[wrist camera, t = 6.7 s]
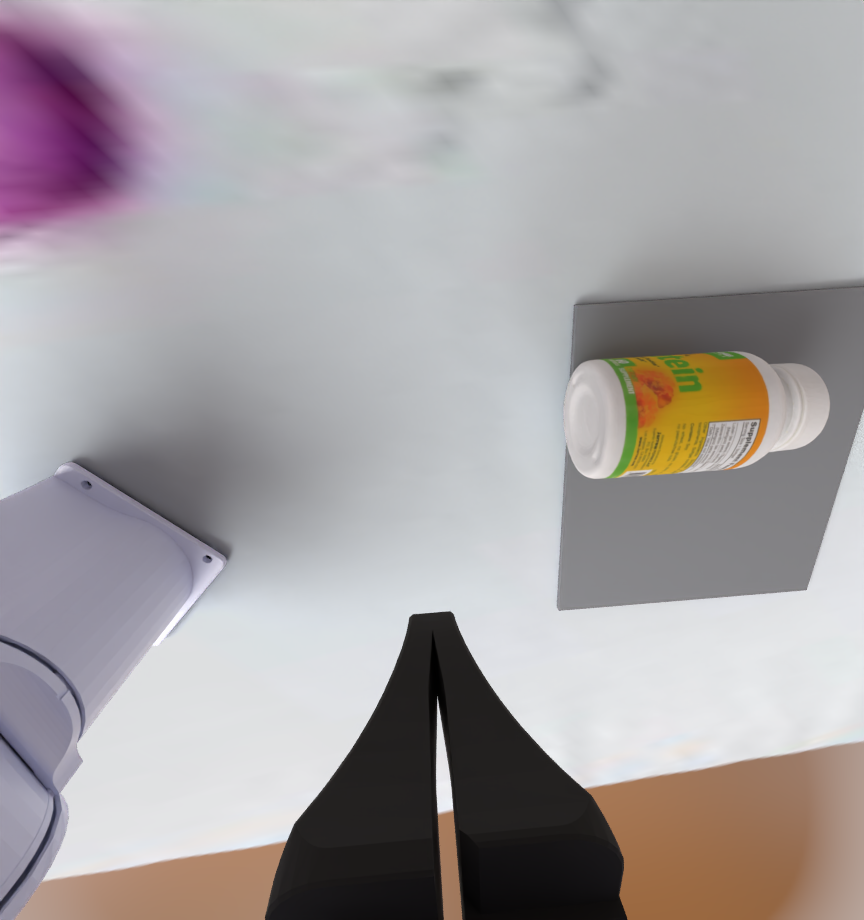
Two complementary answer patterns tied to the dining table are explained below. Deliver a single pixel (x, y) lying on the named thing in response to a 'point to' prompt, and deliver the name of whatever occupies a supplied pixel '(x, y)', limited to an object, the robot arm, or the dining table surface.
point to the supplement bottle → (688, 413)
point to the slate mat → (721, 491)
